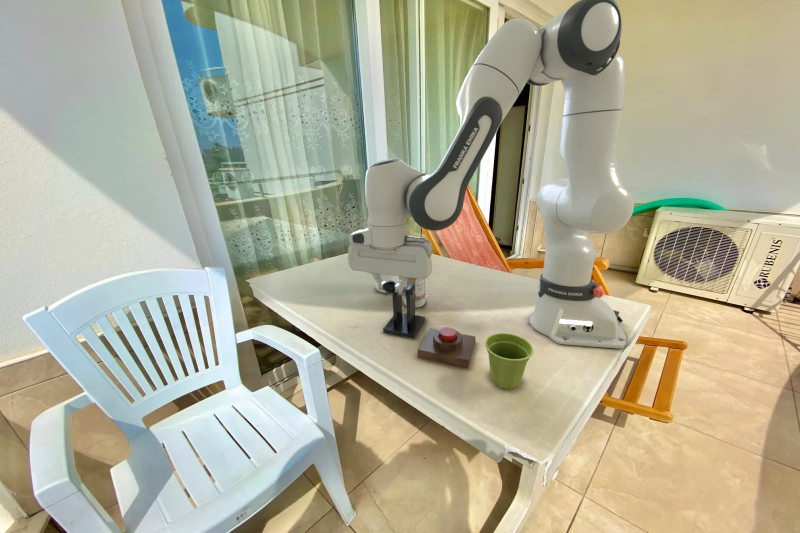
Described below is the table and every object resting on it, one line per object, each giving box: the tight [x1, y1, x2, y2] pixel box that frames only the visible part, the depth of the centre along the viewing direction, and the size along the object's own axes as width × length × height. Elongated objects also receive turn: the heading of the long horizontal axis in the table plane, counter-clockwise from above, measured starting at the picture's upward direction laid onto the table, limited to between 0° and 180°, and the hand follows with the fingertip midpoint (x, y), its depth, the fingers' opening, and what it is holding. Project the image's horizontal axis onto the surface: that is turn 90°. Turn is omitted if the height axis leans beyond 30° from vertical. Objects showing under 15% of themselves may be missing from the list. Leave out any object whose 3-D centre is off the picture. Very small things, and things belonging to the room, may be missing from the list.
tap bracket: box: [382, 280, 426, 339], centre depth 84 cm, size 10×9×13 cm
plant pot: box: [484, 332, 534, 390], centre depth 64 cm, size 9×9×9 cm
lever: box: [384, 280, 408, 297], centre depth 78 cm, size 13×3×3 cm, turn 158°
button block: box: [417, 327, 476, 369], centre depth 75 cm, size 12×10×4 cm
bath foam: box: [403, 277, 426, 309], centre depth 96 cm, size 7×7×20 cm
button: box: [439, 326, 457, 342], centre depth 74 cm, size 4×4×2 cm
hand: (390, 290), depth 74 cm, fingers closed on lever, 3 cm apart
